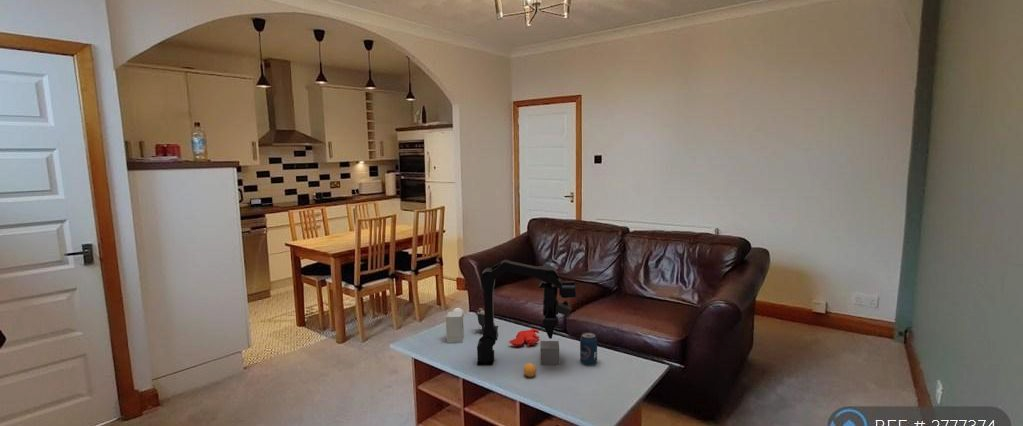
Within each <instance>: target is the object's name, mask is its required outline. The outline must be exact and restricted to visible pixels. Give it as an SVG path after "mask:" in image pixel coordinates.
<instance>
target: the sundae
mask: <svg viewBox="0 0 1023 426" xmlns="http://www.w3.org/2000/svg"><path fill="white" fill-rule="evenodd" d="M475 315H477V322H478V324H479V326H481V330H479V331H478V332H477V333H478V334H479V335H483V331H484V325H485V319H484V304H483V305H482V306H478V310H477V311H475Z"/></svg>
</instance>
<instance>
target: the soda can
mask: <svg viewBox="0 0 1023 426" xmlns="http://www.w3.org/2000/svg"><path fill="white" fill-rule="evenodd" d="M596 336H597V335H596V334H595V333H593V332H582V334H581V336H580V339H579V353H580V354H579V359H580V362H581V364H582V365H583V366H589V367H592V366H595V365H596V363H597V362H598V338H597V337H596Z"/></svg>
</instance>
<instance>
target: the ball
mask: <svg viewBox="0 0 1023 426" xmlns="http://www.w3.org/2000/svg"><path fill="white" fill-rule="evenodd" d="M522 370H523V374H524V375H525V376H526V377H529V378H530V377H533V376H534V375H536V372H537V367H536V365H535V364H534V363H530V362H529V363H526V364H524V366H523V369H522Z"/></svg>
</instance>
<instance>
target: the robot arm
mask: <svg viewBox="0 0 1023 426" xmlns="http://www.w3.org/2000/svg"><path fill="white" fill-rule="evenodd" d="M507 272H509V273H514V274H520V275H524V276H528V277H533V278H536V279H538V280H540V281H541V282H540V283H539V284H538V288H539V289H542V291H543V292H542V293H543V296H542V298H543V299H542V301H543V302H542V303H543V305H542V315H543V316H542V326H543V328H544V330H545V332H546V334H547V337H548V339H551V340H552V339H553V336H554V335H553V334H554V331H555V328H556V327H558V326H559V317H558V316H557V315H559V314H561V315H563V316H566V317H569V316H570V314H571V311H572V307H571V305H569V303H568V301H567V300H563V301H562V302H559V299H558V295H559V296H560V297H561V299H576V296H577V294H576V293H577V292H576V291H577V290H576V282H575V281H574V280H570V281H569V280H568V281H562V279H561V278H560V276H559V275H558V271H557V269H556V267H555V266H552V265H540V266H536V265H532V264H525V263H522V262H517V261H513V260H509V259H504V260H501V262H499V263H497V264H495V265H493V266H492V267H487V268H485V269H484V270H483V271H482V273H481V275H480V283H481V288H482V291H483V305H484V319H485V325H484V331H483V334H482V336H480V338H479V339H478V342H477V346H476V351H477V352H476V353H477V354H476V357H477V361H476V365H477V366H492V365H493V364H494V362H495V350H494V346H495V344H496V341H498V340H499V339H498V338H499V331H498V330H499V325H495V320H494V319H495V318H494V317H495V316H494V313H495V312H494V311H495V309H494V290H495V284H496V279H498V278H500V277H501V276H502V275H504V274H505V273H507Z"/></svg>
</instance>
